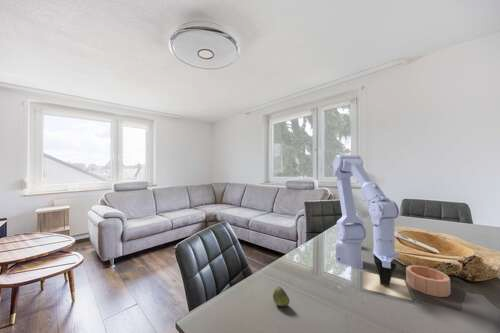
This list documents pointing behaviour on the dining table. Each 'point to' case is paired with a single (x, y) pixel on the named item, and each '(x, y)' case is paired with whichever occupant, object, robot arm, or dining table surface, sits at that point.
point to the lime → (280, 297)
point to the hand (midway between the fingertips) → (384, 281)
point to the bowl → (428, 280)
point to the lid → (386, 287)
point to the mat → (387, 296)
